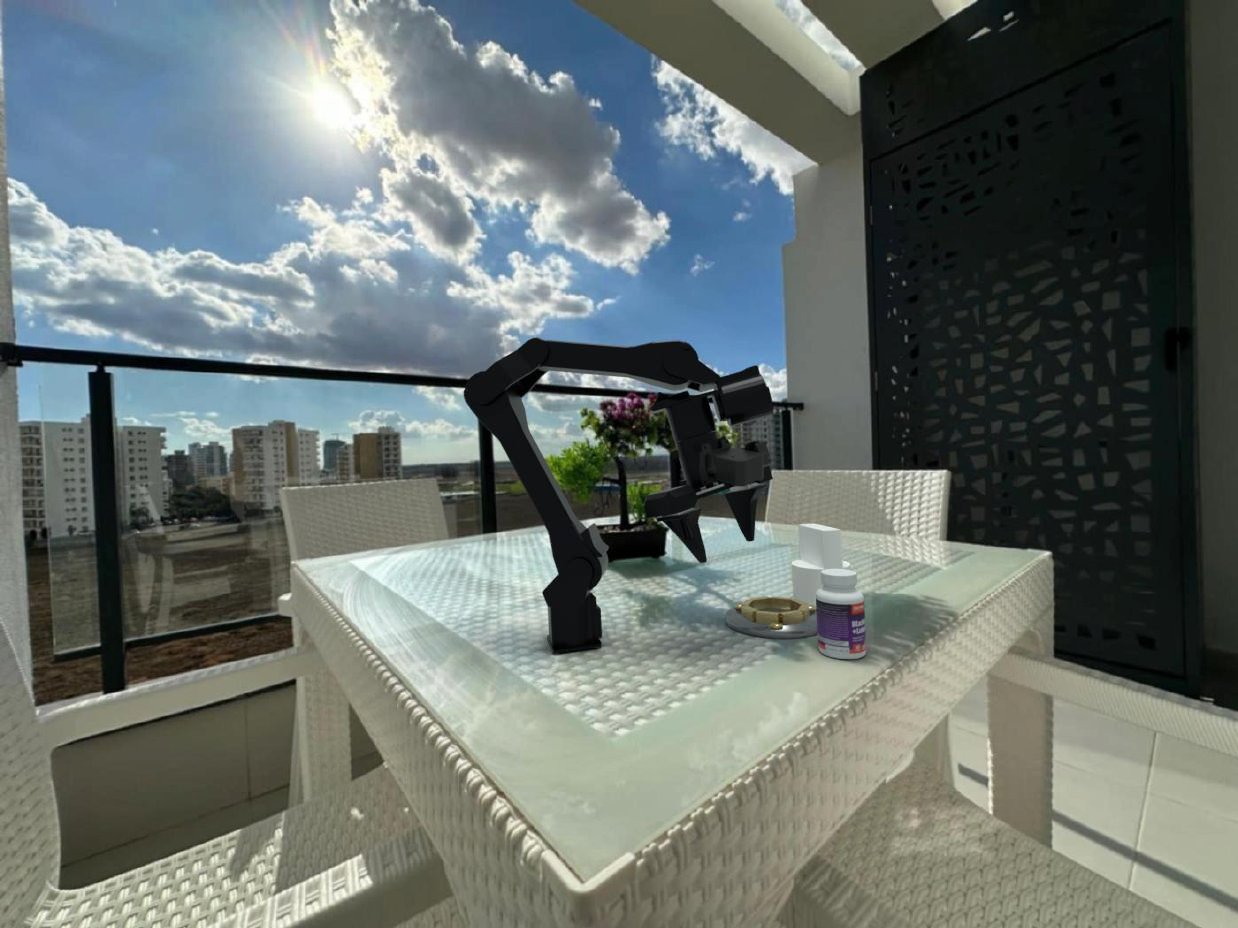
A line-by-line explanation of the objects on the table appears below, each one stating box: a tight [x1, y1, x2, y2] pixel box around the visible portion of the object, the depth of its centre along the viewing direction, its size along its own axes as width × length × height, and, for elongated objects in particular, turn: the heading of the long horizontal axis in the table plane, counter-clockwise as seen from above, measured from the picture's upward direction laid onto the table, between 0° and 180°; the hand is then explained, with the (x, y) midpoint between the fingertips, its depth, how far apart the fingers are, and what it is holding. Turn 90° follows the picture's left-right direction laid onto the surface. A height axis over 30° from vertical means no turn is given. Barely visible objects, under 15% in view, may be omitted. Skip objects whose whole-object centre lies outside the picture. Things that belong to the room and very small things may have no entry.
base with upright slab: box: [791, 523, 851, 606], centre depth 85 cm, size 9×9×12 cm
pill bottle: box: [816, 569, 867, 660], centre depth 63 cm, size 5×5×10 cm
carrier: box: [725, 595, 818, 640], centre depth 75 cm, size 14×14×2 cm
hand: (727, 551), depth 68 cm, fingers open, 9 cm apart
